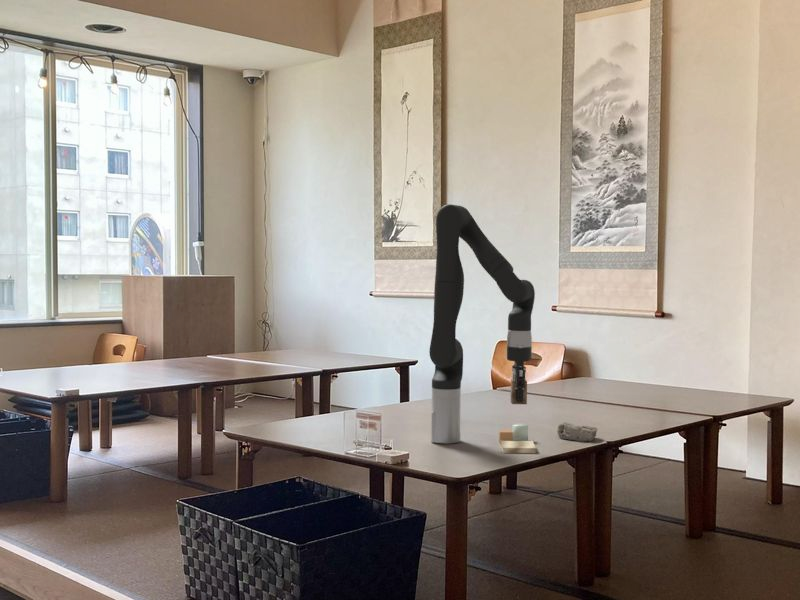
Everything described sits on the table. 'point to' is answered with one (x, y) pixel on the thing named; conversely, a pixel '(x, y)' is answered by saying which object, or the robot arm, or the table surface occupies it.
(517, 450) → the board
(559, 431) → the stone
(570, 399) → the table surface
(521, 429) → the grey-green square block
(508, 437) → the ochre cube
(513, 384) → the walnut block
